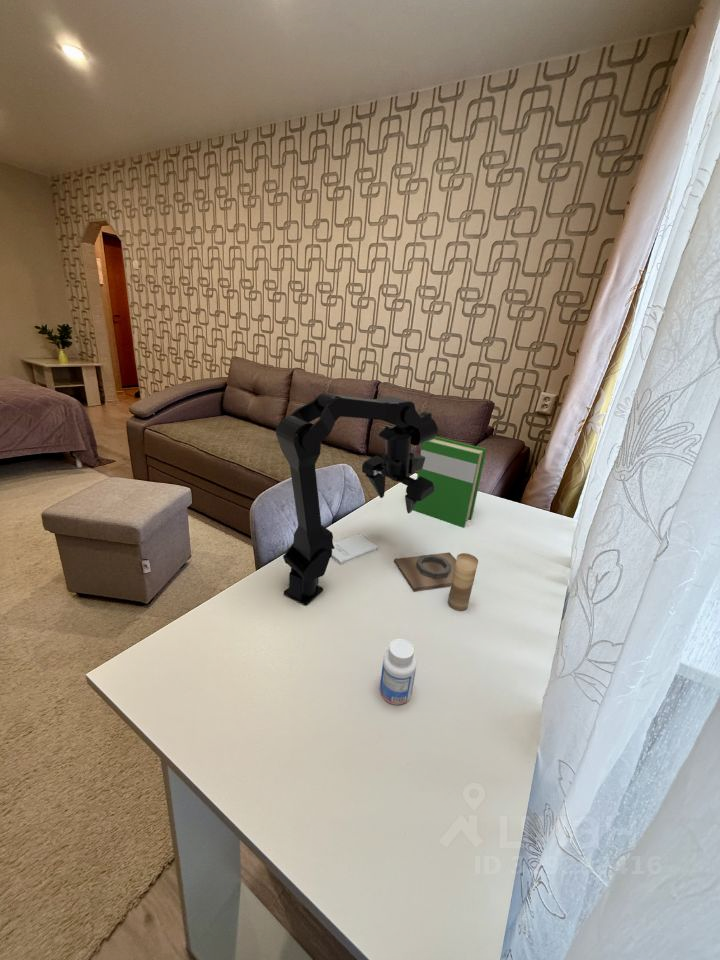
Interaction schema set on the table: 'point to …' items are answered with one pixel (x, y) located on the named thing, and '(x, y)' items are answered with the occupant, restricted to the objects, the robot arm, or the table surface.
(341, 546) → the external hard drive
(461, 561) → the light brown tall cylinder
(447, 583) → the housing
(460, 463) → the hardback book
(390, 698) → the pill bottle
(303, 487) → the robot arm
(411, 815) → the table surface
